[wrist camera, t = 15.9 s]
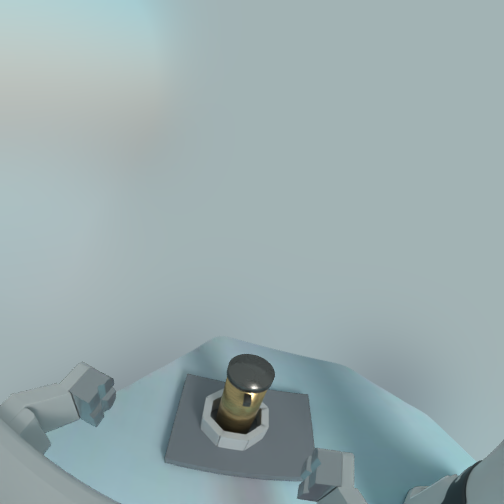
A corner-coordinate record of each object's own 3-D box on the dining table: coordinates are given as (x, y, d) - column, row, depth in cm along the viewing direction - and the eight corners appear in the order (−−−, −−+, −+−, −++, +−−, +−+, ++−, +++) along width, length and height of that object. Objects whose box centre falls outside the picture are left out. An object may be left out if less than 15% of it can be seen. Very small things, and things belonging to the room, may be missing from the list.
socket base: (305, 399, 45) (314, 383, 43) (313, 481, 30) (326, 468, 29) (186, 379, 44) (189, 361, 42) (164, 462, 29) (164, 448, 28)
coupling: (216, 400, 40) (231, 344, 35) (252, 407, 40) (274, 352, 36) (210, 442, 33) (224, 390, 28) (250, 448, 33) (275, 398, 29)
